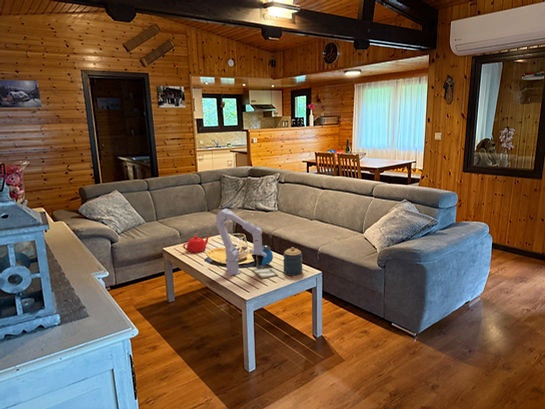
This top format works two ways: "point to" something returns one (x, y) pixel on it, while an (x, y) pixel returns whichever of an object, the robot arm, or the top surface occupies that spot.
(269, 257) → the alarm clock
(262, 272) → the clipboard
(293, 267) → the canister
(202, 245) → the teapot
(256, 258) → the marker
